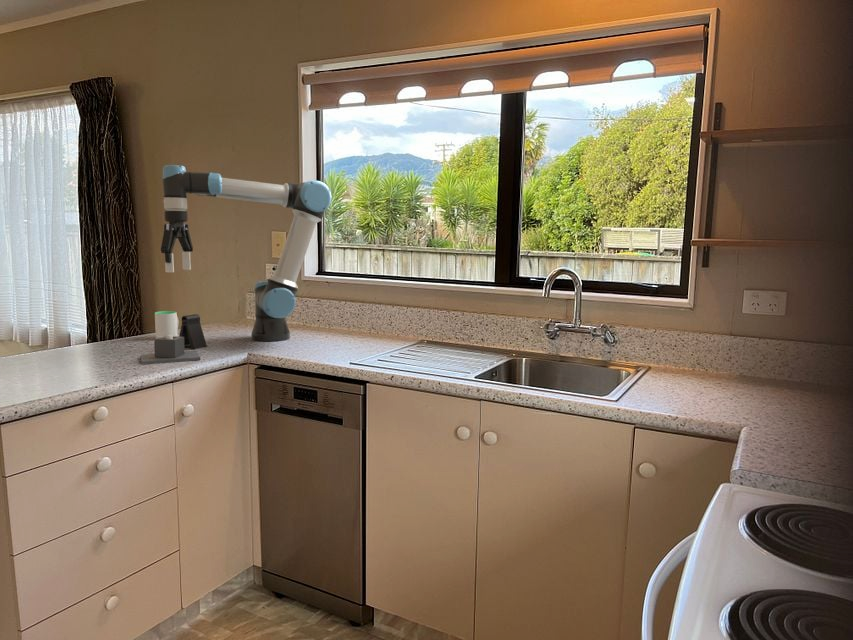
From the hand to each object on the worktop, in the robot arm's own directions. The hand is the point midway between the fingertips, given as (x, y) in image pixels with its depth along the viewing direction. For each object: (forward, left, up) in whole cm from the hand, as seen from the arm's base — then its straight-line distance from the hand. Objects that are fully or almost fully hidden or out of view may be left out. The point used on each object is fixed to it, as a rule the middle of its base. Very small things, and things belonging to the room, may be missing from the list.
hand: (178, 271), depth 224 cm
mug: (+2, -28, -29) cm, 40 cm away
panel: (+5, +15, -29) cm, 33 cm away
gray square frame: (+5, +15, -28) cm, 31 cm away
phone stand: (-4, -4, -29) cm, 29 cm away
